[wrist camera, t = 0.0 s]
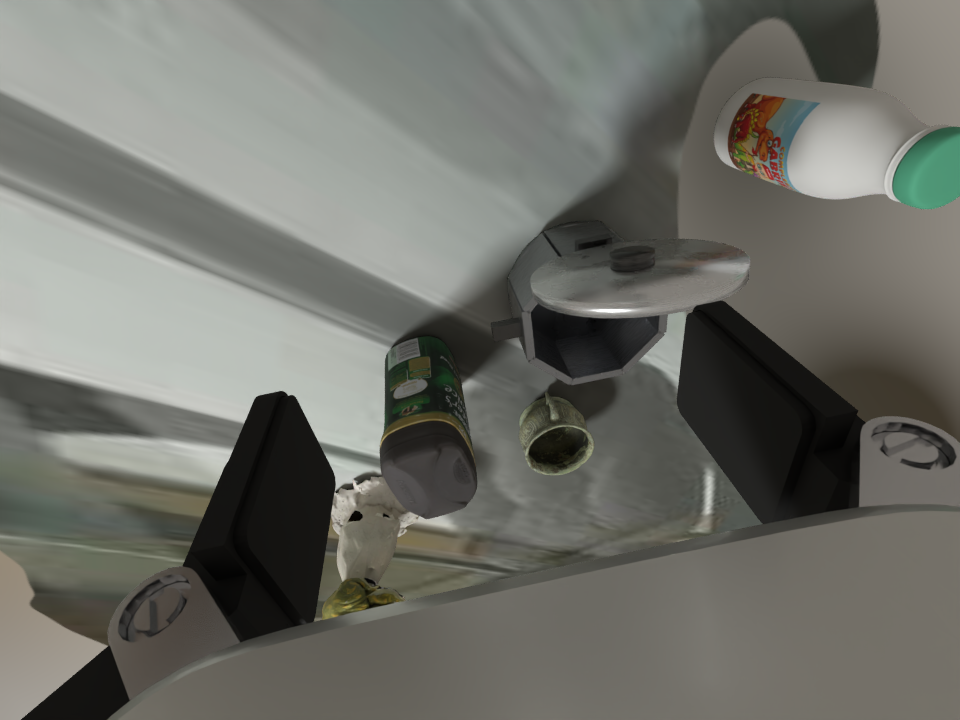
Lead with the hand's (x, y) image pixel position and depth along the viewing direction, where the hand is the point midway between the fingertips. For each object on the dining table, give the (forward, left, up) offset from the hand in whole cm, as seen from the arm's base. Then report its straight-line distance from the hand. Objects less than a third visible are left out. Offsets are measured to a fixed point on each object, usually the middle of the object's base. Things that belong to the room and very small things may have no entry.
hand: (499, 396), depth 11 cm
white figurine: (+46, -18, -37) cm, 62 cm away
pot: (+17, +12, -37) cm, 42 cm away
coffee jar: (+24, -6, -37) cm, 45 cm away
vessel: (+36, +8, -37) cm, 52 cm away
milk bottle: (+4, +30, -37) cm, 48 cm away
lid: (+9, +12, -21) cm, 25 cm away
